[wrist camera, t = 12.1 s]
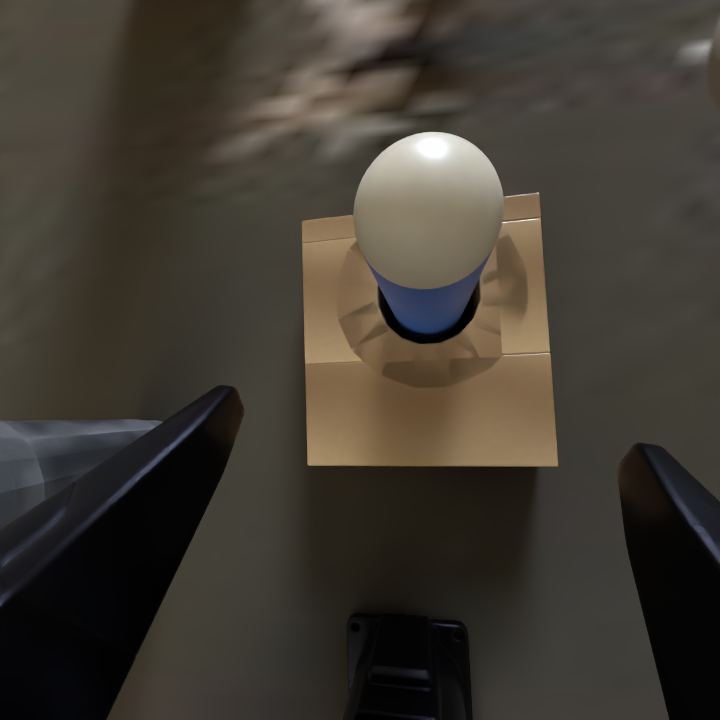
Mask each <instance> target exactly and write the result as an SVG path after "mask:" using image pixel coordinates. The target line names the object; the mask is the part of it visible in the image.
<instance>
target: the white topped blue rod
mask: <svg viewBox="0 0 720 720" xmlns="http://www.w3.org/2000/svg"><path fill="white" fill-rule="evenodd" d="M503 215H504V199H503V191H502V187H501V183H500V180H499V177H498V175H497V173H496V171H495V168H494V167H493V165H492V164H491V162H490V161H489V159H488V158H487V157H486V156H485V155H484V154H483V153H482V151H480V150H479V149H478V148H477V147H476V146H475V145H473V144H472V143H470V142H469V141H467V140H465V139H463V138H461V137H458V136H455V135H452V134H447V133H441V132H426V133H419V134H415V135H412V136H409V137H406V138H404V139H402V140H400V141H397V142H396V143H394V144H393V145H391V146H389V147H388V148H387V149H386V150H384V151H383V152H382V153H381V154H380V155H379V156H378V157H377V158H376V159H375V160H374V161H373V163H372V164H371V165H370V167H369V168H368V170H367V171H366V173H365V175H364V176H363V178H362V180H361V183H360V185H359V188H358V191H357V194H356V198H355V203H354V216H353V219H354V230H355V235H356V239H357V242H358V245H359V247H360V250H361V252H362V254H363V256H364V258H365V260H366V262H367V264H368V266H369V267H370V269H371V271H372V273H373V275H374V277H375V279H376V281H377V283H378V285H379V287H380V289H381V291H382V293H383V295H384V297H385V298H386V300H387V302H388V304H389V306H390V308H391V310H392V312H393V314H394V316H395V318H396V320H397V322H398V323H399V325H400V326H401V327H402V328H403V329H404V330H405V331H406V332H407V333H409V334H411V335H413V336H415V337H418V338H423V339H432V338H437V337H440V336H443V335H445V334H446V333H448V332H449V331H451V330H452V329H453V328H454V327H455V326H456V325H457V323H458V322H459V320H460V318H461V316H462V314H463V312H464V309H465V307H466V305H467V303H468V301H469V299H470V297H471V295H472V292H473V290H474V288H475V286H476V284H477V282H478V280H479V277H480V275H481V273H482V271H483V269H484V267H485V265H486V263H487V260H488V258H489V256H490V254H491V252H492V250H493V248H494V245H495V243H496V241H497V239H498V236H499V233H500V229H501V226H502V221H503Z"/></svg>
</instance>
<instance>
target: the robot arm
mask: <svg viewBox="0 0 720 720" xmlns="http://www.w3.org/2000/svg"><path fill="white" fill-rule="evenodd" d="M243 416H244V408H243V405H242V402H241V399H240V397H239V394H238V392H237V389H236V388H235V387H232V386H225V385H219V386H217V387H215V388H213V389H212V390H210V391H209V392H207V393H206V394H204V395H203V396H201V397H200V398H198V399H197V400H195V401H194V402H192V403H191V404H189V405H188V406H186V407H185V408H183V409H182V410H180V411H179V412H177V413H176V414H174V415H173V416H171V417H170V418H168V419H167V420H165V421H164V422H162V423H161V424H159V425H158V426H156V427H155V428H153V429H152V430H150V431H149V432H147V433H146V434H144V435H143V436H141V437H140V438H138V439H137V440H135V441H134V442H132V443H131V444H129V445H128V446H126V447H125V448H123V449H121V450H120V451H118V452H117V453H115V454H114V455H112V456H111V457H109V458H108V459H106V460H105V461H103V462H102V463H100V464H99V465H97V466H96V467H94V468H93V469H91V470H90V471H88V472H87V473H85V474H84V475H82V476H81V477H79V478H78V479H77V481H73V482H72V483H70V484H69V485H67V486H66V487H64V488H63V489H61V490H60V491H58V492H57V493H55V494H53V495H52V496H50V497H49V498H47V499H46V500H44V501H43V502H41V503H39V504H38V505H36V506H35V507H33V508H32V509H30V510H28V511H27V512H25V513H23V514H22V515H20V516H18V517H17V518H15V519H13V520H12V521H10V522H9V523H7V524H5V525H4V526H2V527H0V720H106V719H107V717H108V715H109V713H110V711H111V709H112V706H113V704H114V702H115V700H116V698H117V696H118V694H119V692H120V690H121V688H122V685H123V683H124V681H125V679H126V677H127V675H128V673H129V671H130V669H131V667H132V664H133V662H134V660H135V658H136V656H135V655H137V653H138V651H139V649H140V647H141V645H142V643H143V641H144V639H145V637H146V634H147V632H148V630H149V628H150V626H151V624H152V622H153V620H154V618H155V616H156V613H157V611H158V609H159V607H160V605H161V603H162V601H163V599H164V597H165V594H166V592H167V590H168V588H169V586H170V584H171V582H172V580H173V578H174V576H175V573H176V571H177V569H178V567H179V565H180V563H181V561H182V559H183V557H184V555H185V552H186V550H187V548H188V546H189V544H190V542H191V540H192V538H193V536H194V534H195V531H196V529H197V527H198V525H199V523H200V521H201V519H202V517H203V515H204V513H205V510H206V508H207V506H208V504H209V502H210V500H211V498H212V496H213V494H214V492H215V489H216V487H217V485H218V483H219V481H220V479H221V477H222V474H223V472H224V470H225V467H226V465H227V462H228V459H229V456H230V453H231V451H232V448H233V445H234V442H235V439H236V436H237V433H238V431H239V428H240V425H241V422H242V419H243ZM617 475H618V484H619V492H620V500H621V508H622V516H623V524H624V532H625V539H626V545H627V550H628V554H629V559H630V563H631V567H632V571H633V575H634V579H635V583H636V587H637V591H638V595H639V599H640V603H641V607H642V611H643V615H644V619H645V623H646V627H647V631H648V635H649V639H650V643H651V647H652V651H653V655H654V659H655V663H656V667H657V671H658V675H659V679H660V683H661V687H662V691H663V695H664V700H665V704H666V708H667V712H668V716H669V720H720V502H719V501H718V500H717V499H716V498H715V497H714V496H713V495H712V494H711V493H710V492H709V491H708V490H707V489H706V488H705V487H704V486H703V485H702V484H700V483H699V482H698V481H697V480H696V479H695V478H694V477H693V476H692V475H691V474H690V473H689V472H688V471H687V470H686V469H685V468H684V467H683V466H682V465H681V464H680V463H678V462H677V461H676V460H675V459H674V458H673V457H672V456H671V455H670V454H669V453H668V452H667V451H666V450H665V449H664V448H662V447H661V446H658V445H653V444H646V443H637V444H634V445H633V446H632V448H631V449H630V450H629V452H628V453H627V454H626V456H625V457H624V458H623V460H622V461H621V462H620V464H619V466H618V471H617ZM354 622H356V623H358V624H359V625H360V627H355V626H354V625H353V623H354ZM455 631H460V632H462V635H460V636H457V635H455V634H454V632H455ZM347 649H348V682H349V698H348V702H347V706H346V710H345V714H344V717H343V720H473V719H472V700H471V681H470V662H469V643H468V632H467V628H466V626H465V625H464V624H463V623H461V622H459V621H449V620H437V619H429V618H428V617H426V616H414V615H401V614H388V613H383V614H382V615H373V614H360V613H355V614H352V615H351V616H350V617H349V620H348V622H347Z"/></svg>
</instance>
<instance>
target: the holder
mask: <svg viewBox="0 0 720 720" xmlns="http://www.w3.org/2000/svg"><path fill="white" fill-rule="evenodd" d="M503 199H504V215H503V221H502V226H501V229H500V233H499V236H498V239H497V241H496V243H495V245H494V248H493V250H492V252H491V254H490V256H489V258H488V260H487V263H486V265H485V267H484V269H483V271H482V273H481V275H480V277H479V280H478V282H477V284H476V286H475V288H474V290H473V292H472V294H473V313H472V316H471V319H470V322H469V324H468V325H467V326H466V327H465V328H464V329H463V330H462V331H461V332H460V334H458V335H456V336H454V337H452V338H449V339H447V340H445V341H443V342H441V343H426V344H419V343H416V342H413V341H410V340H407V339H404V338H402V337H400V336H399V335H398V334H397V333H396V332H395V331H394V330H392V329H391V328H390V326H389V324H388V322H387V320H386V318H385V301H384V300H385V297H384V295H383V293H382V291H381V289H380V287H379V285H378V283H377V281H376V279H375V277H374V275H373V273H372V271H371V269H370V267H369V266H368V264H367V262H366V260H365V258H364V256H363V254H362V252H361V250H360V247H359V245H358V242H357V239H356V235H355V230H354V219H353V216H354V215H349V216H340V217H332V218H323V219H315V220H307V221H302V243H303V244H302V255H303V297H304V339H305V364H306V365H305V377H306V419H307V461H308V465H309V466H478V467H558V455H557V441H556V426H555V412H554V398H553V384H552V370H551V355H550V353H549V352H550V344H549V330H548V315H547V301H546V287H545V273H544V259H543V245H542V230H541V219H540V217H541V213H540V199H539V193H533V194H524V195H516V196H507V197H503Z"/></svg>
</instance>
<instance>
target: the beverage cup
mask: <svg viewBox="0 0 720 720" xmlns="http://www.w3.org/2000/svg"><path fill="white" fill-rule="evenodd" d="M161 423H162V422H161V421H157V420H150V421H148V420H139V419H103V420H10V421H0V527H2V526H4V525H5V524H7V523H9V522H10V521H12V520H13V519H15V518H17V517H18V516H20V515H22V514H23V513H25V512H27V511H28V510H30V509H32V508H33V507H35V506H36V505H38V504H39V503H41V502H43V501H44V500H46V499H47V498H49V497H50V496H52V495H53V494H55V493H57V492H58V491H60V490H61V489H63V488H64V487H66V486H67V485H69V484H70V483H72V482H73V481H77V479H78V478H79V477H81V476H82V475H84V474H85V473H87V472H88V471H90V470H91V469H93V468H94V467H96V466H97V465H99V464H100V463H102V462H103V461H105V460H106V459H108V458H109V457H111V456H112V455H114V454H115V453H117V452H118V451H120V450H121V449H123V448H125V447H126V446H128V445H129V444H131V443H132V442H134V441H135V440H137V439H138V438H140V437H141V436H143V435H144V434H146V433H147V432H149V431H150V430H152V429H153V428H155V427H156V426H158V425H159V424H161Z"/></svg>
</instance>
